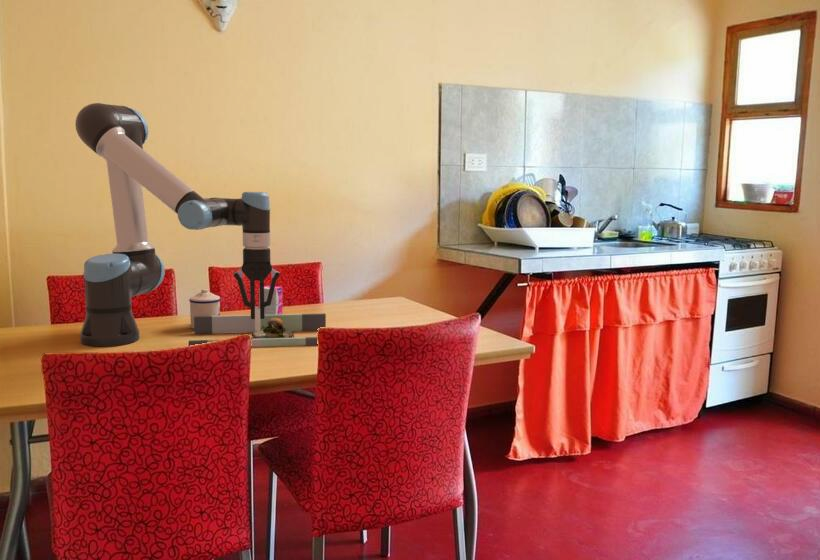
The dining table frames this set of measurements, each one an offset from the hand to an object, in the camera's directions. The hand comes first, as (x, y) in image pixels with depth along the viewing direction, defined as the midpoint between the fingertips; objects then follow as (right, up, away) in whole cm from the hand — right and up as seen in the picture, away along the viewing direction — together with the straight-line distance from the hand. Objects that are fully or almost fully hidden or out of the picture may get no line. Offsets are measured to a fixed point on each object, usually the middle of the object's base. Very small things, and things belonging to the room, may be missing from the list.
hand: (257, 330), depth 204 cm
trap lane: (+1, -2, +1) cm, 3 cm away
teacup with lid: (-19, 0, +15) cm, 24 cm away
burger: (+4, -3, +1) cm, 5 cm away
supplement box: (0, +1, +21) cm, 21 cm away
